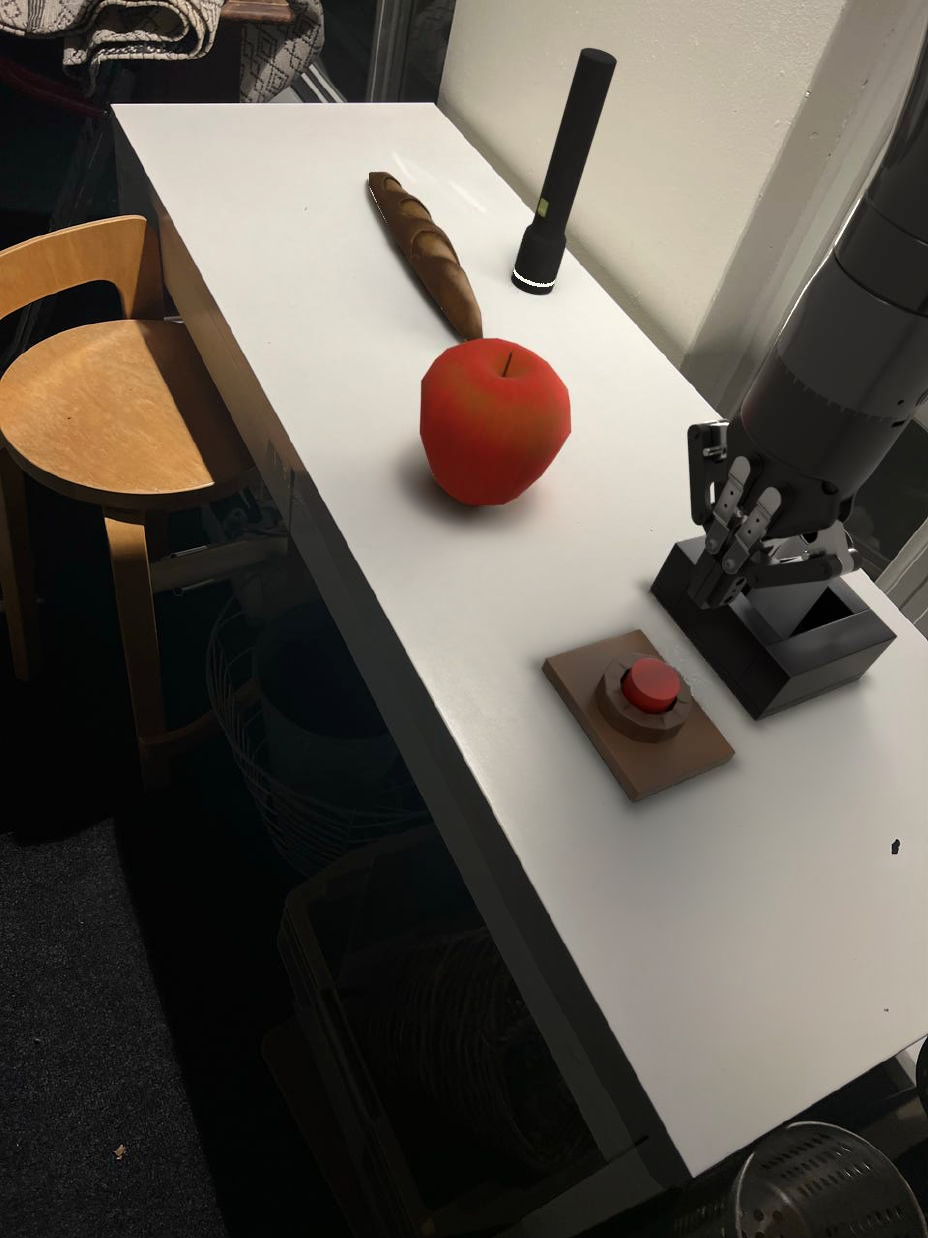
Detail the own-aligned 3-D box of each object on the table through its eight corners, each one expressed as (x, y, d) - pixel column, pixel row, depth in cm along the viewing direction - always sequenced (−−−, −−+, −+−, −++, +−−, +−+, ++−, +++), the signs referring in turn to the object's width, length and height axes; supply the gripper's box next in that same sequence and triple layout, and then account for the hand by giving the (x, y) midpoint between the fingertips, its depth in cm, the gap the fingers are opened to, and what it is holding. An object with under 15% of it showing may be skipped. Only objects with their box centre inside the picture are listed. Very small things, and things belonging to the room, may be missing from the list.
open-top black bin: (859, 678, 73) (898, 636, 69) (755, 721, 68) (790, 677, 64) (751, 559, 80) (780, 514, 76) (649, 589, 75) (674, 542, 71)
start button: (680, 705, 64) (690, 691, 63) (641, 720, 62) (651, 706, 61) (651, 667, 66) (660, 652, 64) (612, 680, 64) (621, 665, 63)
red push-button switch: (729, 761, 65) (747, 738, 63) (632, 802, 61) (649, 779, 59) (634, 637, 71) (648, 613, 69) (541, 667, 67) (552, 642, 65)
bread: (502, 360, 93) (514, 316, 89) (458, 361, 91) (469, 317, 87) (386, 180, 114) (392, 139, 110) (348, 179, 112) (353, 137, 108)
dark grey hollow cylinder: (733, 598, 75) (793, 507, 67) (784, 613, 75) (850, 524, 68) (735, 638, 72) (799, 548, 64) (789, 653, 72) (858, 565, 65)
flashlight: (534, 268, 107) (502, 274, 105) (600, 43, 90) (564, 43, 87) (561, 291, 105) (529, 297, 102) (634, 64, 87) (598, 65, 85)
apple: (566, 509, 79) (621, 374, 69) (467, 558, 73) (513, 417, 62) (473, 428, 84) (512, 291, 74) (373, 467, 77) (400, 322, 67)
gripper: (713, 293, 45) (600, 538, 58) (900, 463, 39) (726, 697, 51) (814, 284, 49) (686, 516, 62) (1002, 437, 42) (815, 662, 55)
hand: (705, 598), depth 56 cm, fingers closed
